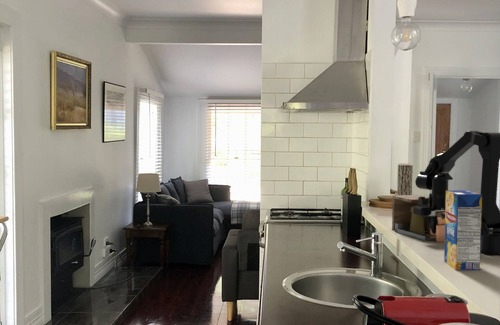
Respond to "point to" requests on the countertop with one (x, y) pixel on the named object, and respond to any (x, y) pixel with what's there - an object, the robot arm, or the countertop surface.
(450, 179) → the robot arm
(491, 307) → the countertop surface
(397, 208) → the spice cubby
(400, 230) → the grey brown long block
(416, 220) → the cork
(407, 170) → the bark textured block
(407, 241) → the countertop surface
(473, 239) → the beverage box
